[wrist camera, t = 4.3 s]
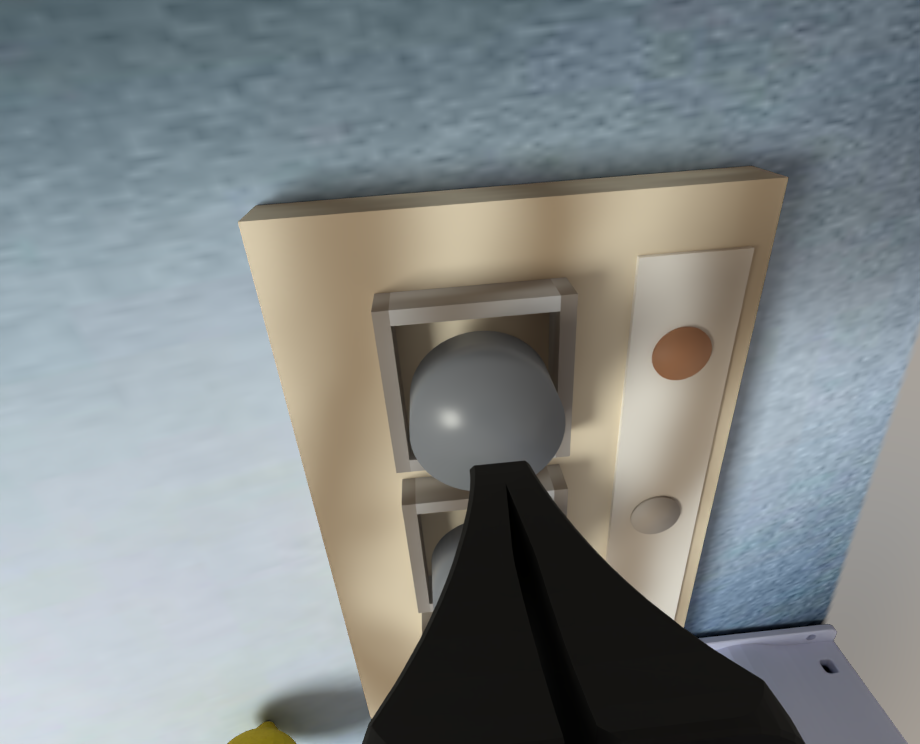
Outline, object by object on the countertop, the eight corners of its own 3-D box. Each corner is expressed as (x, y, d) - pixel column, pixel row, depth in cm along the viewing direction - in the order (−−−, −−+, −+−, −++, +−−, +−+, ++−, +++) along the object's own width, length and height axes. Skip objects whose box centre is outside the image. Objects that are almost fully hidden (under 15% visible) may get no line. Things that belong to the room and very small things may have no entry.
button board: (751, 165, 18) (819, 186, 15) (655, 649, 31) (681, 711, 28) (255, 205, 17) (222, 235, 14) (373, 680, 30) (369, 747, 27)
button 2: (551, 324, 16) (568, 356, 14) (548, 443, 18) (563, 483, 16) (402, 337, 16) (400, 372, 14) (417, 456, 18) (417, 498, 16)
